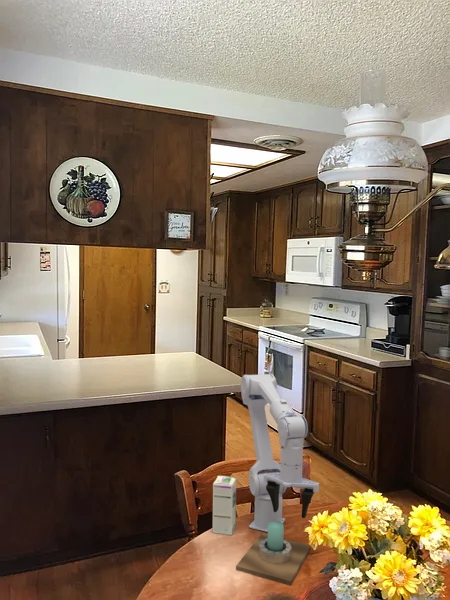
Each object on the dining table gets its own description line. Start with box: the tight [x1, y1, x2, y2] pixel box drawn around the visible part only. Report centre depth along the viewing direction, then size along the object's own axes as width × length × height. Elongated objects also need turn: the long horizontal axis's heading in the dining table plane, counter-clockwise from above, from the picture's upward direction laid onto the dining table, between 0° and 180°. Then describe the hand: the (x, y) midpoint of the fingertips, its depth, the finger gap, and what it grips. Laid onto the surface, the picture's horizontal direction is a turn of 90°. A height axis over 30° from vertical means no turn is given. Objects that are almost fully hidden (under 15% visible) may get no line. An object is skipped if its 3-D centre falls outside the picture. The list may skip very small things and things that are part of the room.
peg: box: [267, 521, 285, 552], centre depth 131 cm, size 4×4×8 cm
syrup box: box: [212, 475, 237, 536], centre depth 146 cm, size 6×6×14 cm
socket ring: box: [259, 538, 292, 564], centre depth 132 cm, size 8×8×2 cm
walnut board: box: [235, 533, 312, 586], centre depth 132 cm, size 18×14×1 cm
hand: (289, 513), depth 135 cm, fingers open, 7 cm apart
